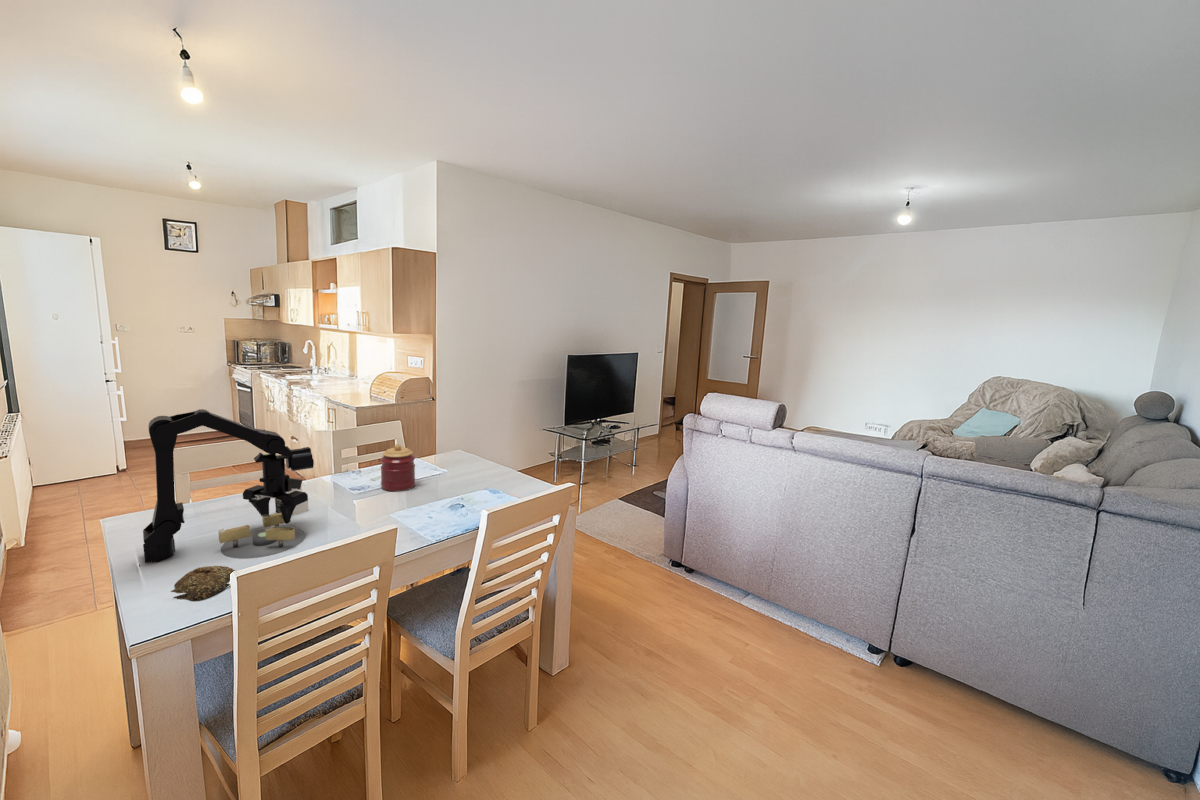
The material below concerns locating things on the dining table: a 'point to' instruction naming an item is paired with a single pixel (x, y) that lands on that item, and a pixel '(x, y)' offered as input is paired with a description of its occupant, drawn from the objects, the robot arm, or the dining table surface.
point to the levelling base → (260, 550)
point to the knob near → (280, 534)
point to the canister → (397, 469)
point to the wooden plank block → (273, 520)
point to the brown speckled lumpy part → (203, 582)
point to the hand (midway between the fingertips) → (276, 521)
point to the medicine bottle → (298, 508)
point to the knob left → (234, 534)
